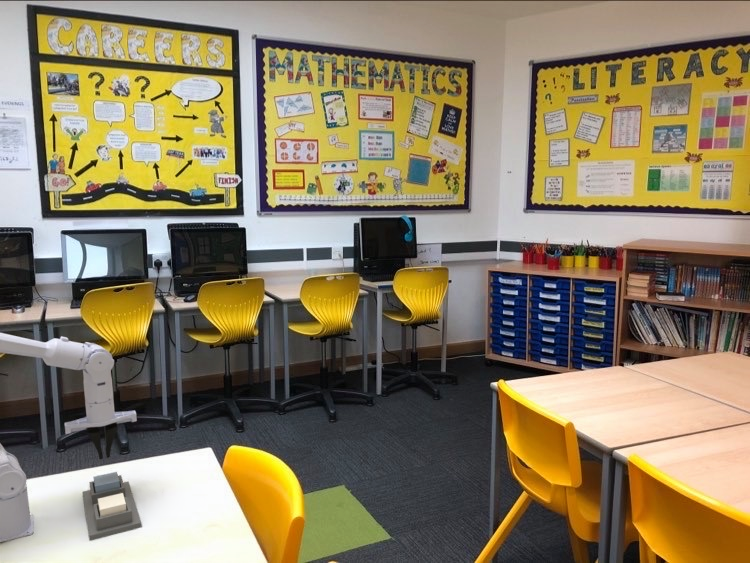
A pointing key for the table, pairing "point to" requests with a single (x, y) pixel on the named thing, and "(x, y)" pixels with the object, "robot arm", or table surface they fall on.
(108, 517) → the key board
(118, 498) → the white key
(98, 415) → the robot arm
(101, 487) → the blue key
